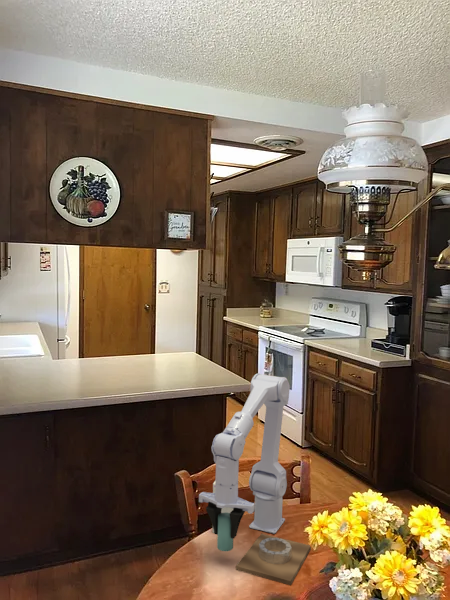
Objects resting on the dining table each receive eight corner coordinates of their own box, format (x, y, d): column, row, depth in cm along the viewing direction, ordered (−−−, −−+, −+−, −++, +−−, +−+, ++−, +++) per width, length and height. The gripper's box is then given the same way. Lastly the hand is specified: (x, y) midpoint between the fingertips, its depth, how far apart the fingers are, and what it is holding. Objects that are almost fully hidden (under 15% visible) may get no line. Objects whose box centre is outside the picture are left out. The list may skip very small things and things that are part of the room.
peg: (221, 541, 132) (222, 511, 132) (235, 545, 131) (236, 514, 130) (214, 549, 129) (215, 517, 128) (229, 552, 127) (229, 521, 127)
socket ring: (265, 544, 137) (265, 535, 137) (294, 551, 134) (294, 542, 134) (254, 559, 130) (255, 549, 130) (285, 567, 126) (285, 557, 126)
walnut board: (261, 536, 143) (261, 533, 143) (310, 549, 137) (310, 545, 137) (235, 569, 126) (236, 565, 126) (290, 585, 121) (290, 581, 121)
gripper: (193, 481, 128) (192, 535, 129) (247, 493, 122) (246, 549, 123) (206, 472, 135) (205, 522, 135) (258, 482, 129) (256, 535, 129)
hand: (225, 534), depth 130 cm, fingers closed on peg, 4 cm apart
